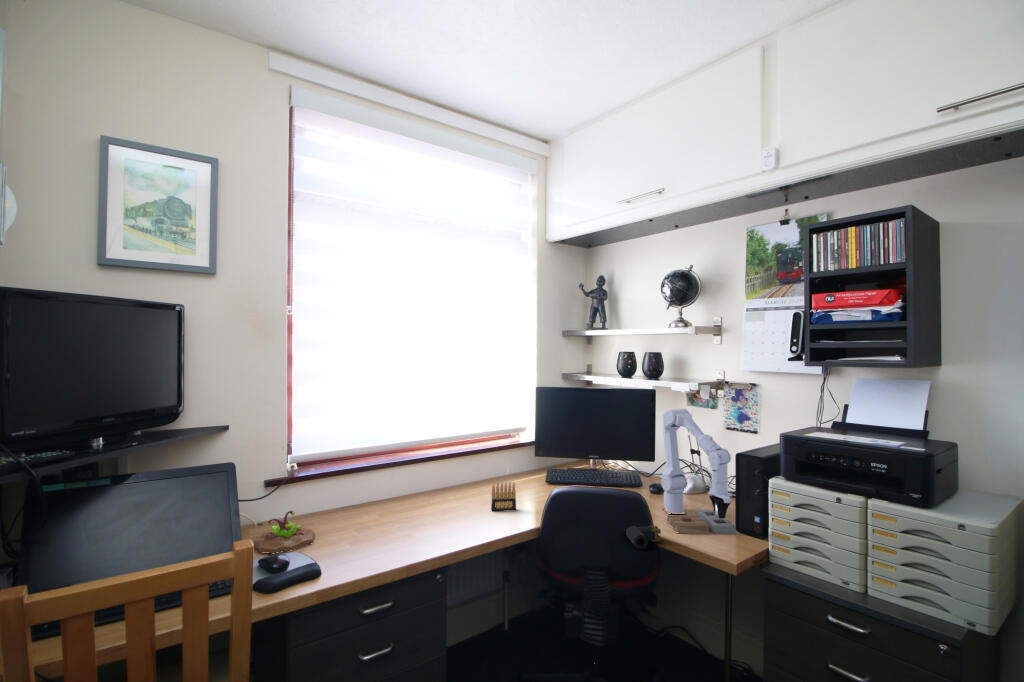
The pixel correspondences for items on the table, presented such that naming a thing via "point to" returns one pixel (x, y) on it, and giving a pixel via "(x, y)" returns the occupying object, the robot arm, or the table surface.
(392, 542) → the table surface
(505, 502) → the ammunition clip
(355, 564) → the table surface
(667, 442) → the robot arm
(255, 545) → the plant
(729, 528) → the tool rack
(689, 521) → the socket block
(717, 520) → the steel peg
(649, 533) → the pipe connector
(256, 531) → the table surface
